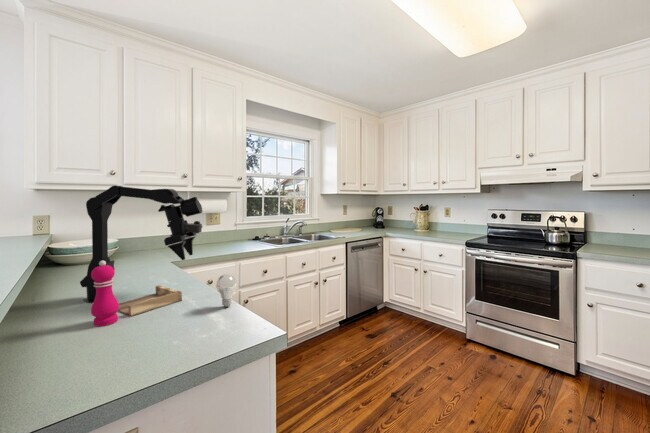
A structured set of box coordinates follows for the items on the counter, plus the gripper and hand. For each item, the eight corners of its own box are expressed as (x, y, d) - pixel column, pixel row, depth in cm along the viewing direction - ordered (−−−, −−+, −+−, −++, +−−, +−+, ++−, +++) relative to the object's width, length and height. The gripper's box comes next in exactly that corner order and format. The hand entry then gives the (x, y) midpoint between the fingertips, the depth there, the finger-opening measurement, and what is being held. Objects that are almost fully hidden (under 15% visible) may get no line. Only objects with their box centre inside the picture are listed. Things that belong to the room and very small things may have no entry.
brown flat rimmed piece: (109, 307, 110) (109, 297, 110) (159, 293, 125) (159, 285, 125) (131, 316, 101) (130, 306, 101) (182, 300, 116) (181, 291, 116)
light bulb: (219, 303, 113) (218, 272, 112) (238, 303, 113) (237, 271, 112) (214, 310, 106) (213, 277, 105) (234, 310, 106) (233, 276, 105)
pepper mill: (105, 328, 93) (101, 263, 91) (85, 326, 94) (81, 262, 93) (125, 318, 100) (121, 258, 98) (106, 317, 101) (103, 257, 100)
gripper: (188, 216, 111) (201, 256, 113) (202, 213, 130) (213, 247, 131) (157, 224, 110) (170, 264, 112) (176, 219, 129) (187, 254, 130)
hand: (187, 257), depth 121 cm, fingers open, 9 cm apart
